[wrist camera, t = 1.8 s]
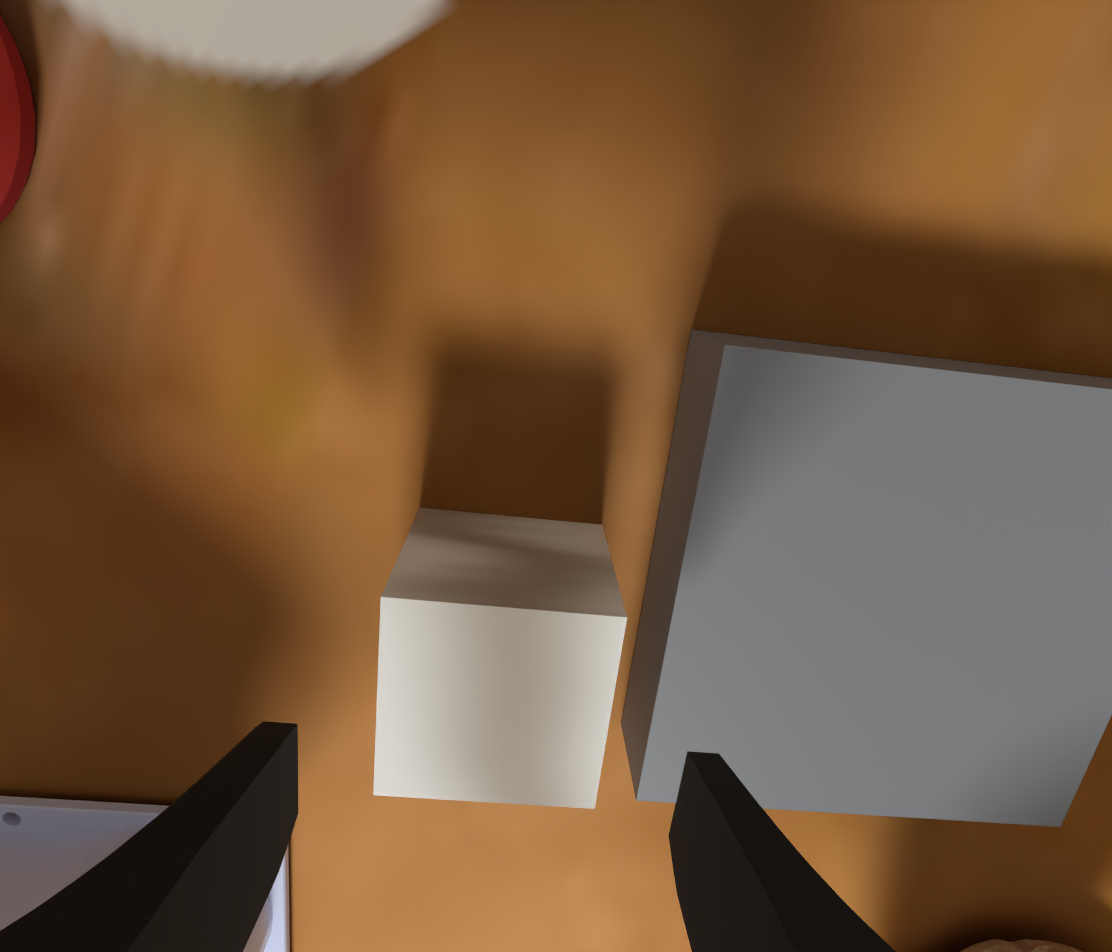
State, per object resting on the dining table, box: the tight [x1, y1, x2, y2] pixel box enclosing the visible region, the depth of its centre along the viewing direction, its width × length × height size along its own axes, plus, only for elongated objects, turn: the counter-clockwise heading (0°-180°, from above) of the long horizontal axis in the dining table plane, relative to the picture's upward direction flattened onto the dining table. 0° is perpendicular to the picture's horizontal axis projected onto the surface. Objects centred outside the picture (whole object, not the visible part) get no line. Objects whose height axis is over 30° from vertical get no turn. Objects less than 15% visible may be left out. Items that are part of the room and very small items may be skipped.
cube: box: [373, 508, 627, 809], centre depth 16 cm, size 5×5×5 cm
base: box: [621, 329, 1112, 827], centre depth 17 cm, size 12×12×3 cm
